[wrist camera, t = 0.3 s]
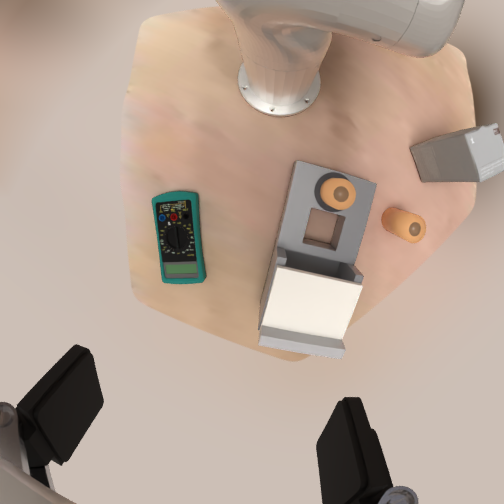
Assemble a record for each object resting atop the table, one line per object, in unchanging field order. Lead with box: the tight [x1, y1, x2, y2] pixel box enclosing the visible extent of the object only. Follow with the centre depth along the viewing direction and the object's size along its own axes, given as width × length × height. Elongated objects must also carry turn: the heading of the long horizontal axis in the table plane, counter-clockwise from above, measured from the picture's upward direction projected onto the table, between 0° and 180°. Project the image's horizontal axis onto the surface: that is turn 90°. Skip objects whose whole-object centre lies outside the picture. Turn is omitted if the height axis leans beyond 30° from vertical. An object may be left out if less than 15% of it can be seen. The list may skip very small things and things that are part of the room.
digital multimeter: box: [152, 191, 206, 284], centre depth 43 cm, size 7×15×3 cm, turn 3°
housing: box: [258, 160, 377, 330], centre depth 39 cm, size 24×12×9 cm, turn 168°
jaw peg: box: [382, 208, 426, 243], centre depth 37 cm, size 4×4×8 cm
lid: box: [258, 265, 363, 359], centre depth 35 cm, size 10×12×4 cm
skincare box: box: [410, 123, 504, 182], centre depth 30 cm, size 8×7×16 cm
